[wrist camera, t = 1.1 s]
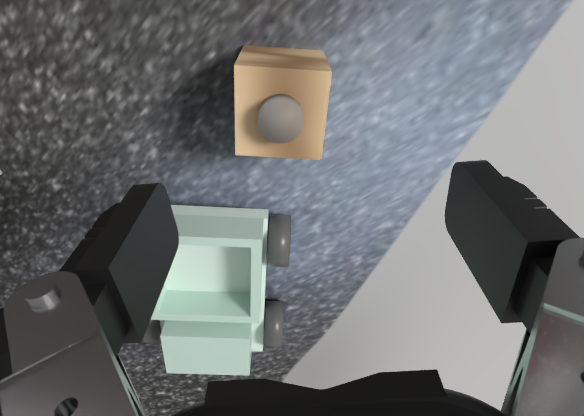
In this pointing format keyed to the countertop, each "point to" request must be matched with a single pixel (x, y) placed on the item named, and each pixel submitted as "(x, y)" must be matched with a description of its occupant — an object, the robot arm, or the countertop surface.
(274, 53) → the wooden block with knob
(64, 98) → the countertop surface
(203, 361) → the chassis
